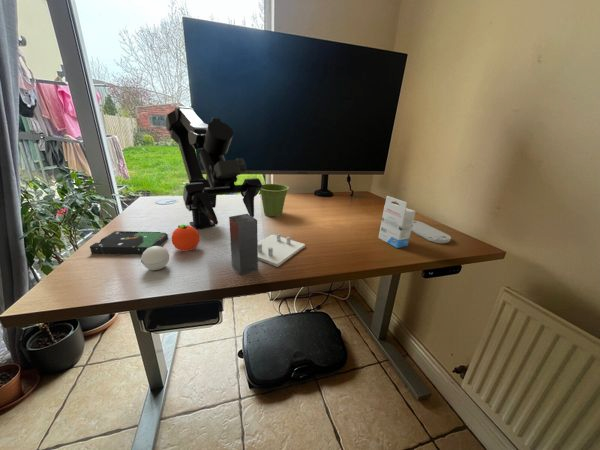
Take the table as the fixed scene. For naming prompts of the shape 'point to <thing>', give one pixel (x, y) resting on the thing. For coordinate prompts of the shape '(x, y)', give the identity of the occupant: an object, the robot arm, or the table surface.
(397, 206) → the ink box
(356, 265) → the table surface
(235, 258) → the grey metal block
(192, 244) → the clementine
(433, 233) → the game console
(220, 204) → the table surface
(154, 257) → the white egg
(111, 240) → the disk drive
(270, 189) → the plant pot
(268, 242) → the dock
